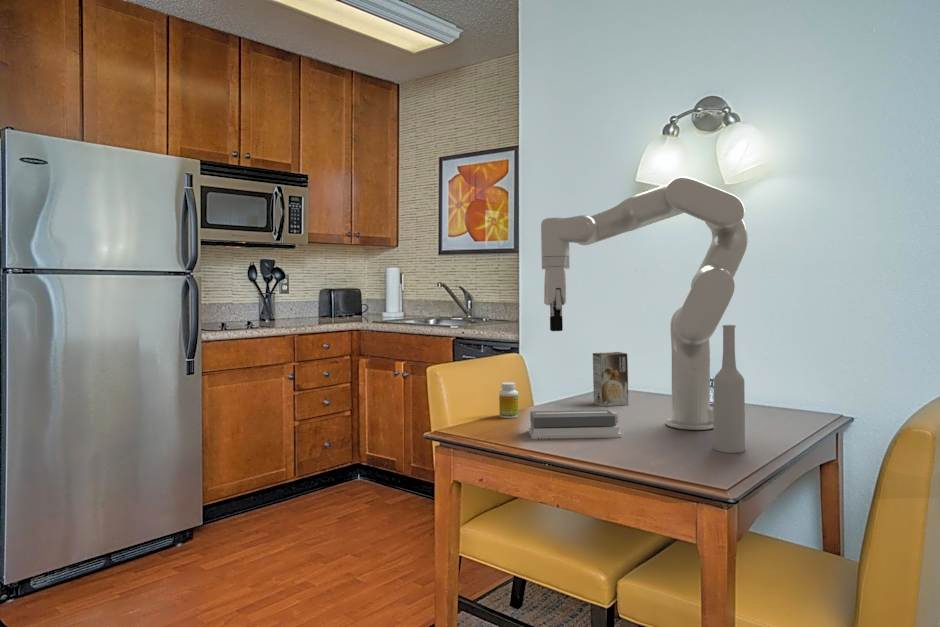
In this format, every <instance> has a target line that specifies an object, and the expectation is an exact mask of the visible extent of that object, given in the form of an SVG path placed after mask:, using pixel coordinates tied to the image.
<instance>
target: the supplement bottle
mask: <svg viewBox="0 0 940 627" xmlns="http://www.w3.org/2000/svg"><path fill="white" fill-rule="evenodd" d="M500 388H501V389H502V390H500V391H499V399H498V400H499V405H498V406H499V417H500V418H502V419H516V418H518V417H519V391H517V389H516V383H515V382H512V381H510V382H509V381H505V382H502V383H501V386H500Z"/></svg>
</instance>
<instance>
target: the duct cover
mask: <svg viewBox="0 0 940 627" xmlns="http://www.w3.org/2000/svg"><path fill="white" fill-rule="evenodd" d="M529 412H530V413H529V418H530V422H531V423H532V425H533V427H574V426H615V423H616V424H618V423H619V412H618V411H617V412H616V411H610V410H609V409H582V410H581V409H580V410H579V409H578V410H577V409H576V410H573V409H572V410H536V411H535V410H534V411H533V410H531V411H529Z"/></svg>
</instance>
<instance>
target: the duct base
mask: <svg viewBox="0 0 940 627" xmlns="http://www.w3.org/2000/svg"><path fill="white" fill-rule="evenodd" d="M528 430H529V431H528ZM528 430H527V431H528V432H529V435H531V436H530V438H531V440H546V439H547V440H551V439H555V440H557V439H600V438H601V439H602V438H604V439H605V438H622V436H623V435H622V433H621V432H620V427H619V426H618V425H617V423H615V426H574V427H533V425H532V423H531V421H530V427H528ZM538 438H539V439H538ZM541 438H542V439H541ZM545 438H546V439H545ZM548 438H550V439H548Z"/></svg>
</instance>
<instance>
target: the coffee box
mask: <svg viewBox="0 0 940 627" xmlns="http://www.w3.org/2000/svg"><path fill="white" fill-rule="evenodd" d="M628 362H629V361H628V353H626V352H619V351H611V352H610V351H608V352H607V351H606V352H592V376H593V377H592V379H593V381H592V382H593V384H592V386H593V404H594V403H595V405H596V406H600V407H615V406H627V405H629V370H628V368H629V367H628V366H629V364H628Z"/></svg>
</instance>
